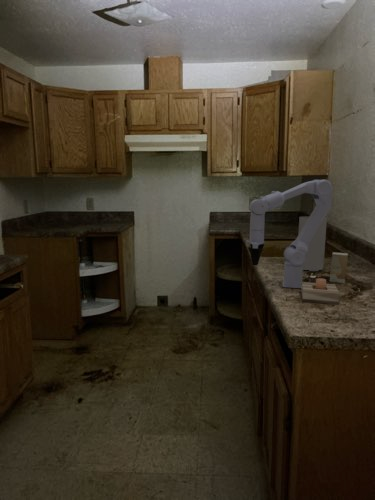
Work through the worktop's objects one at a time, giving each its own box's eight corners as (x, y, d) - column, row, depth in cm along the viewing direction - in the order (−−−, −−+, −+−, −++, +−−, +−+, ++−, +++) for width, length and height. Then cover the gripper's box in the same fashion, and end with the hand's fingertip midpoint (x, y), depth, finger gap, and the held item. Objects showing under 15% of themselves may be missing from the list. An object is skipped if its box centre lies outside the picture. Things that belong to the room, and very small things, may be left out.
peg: (319, 293, 142) (320, 277, 141) (327, 295, 139) (328, 280, 138) (312, 294, 140) (314, 279, 139) (320, 297, 137) (322, 281, 136)
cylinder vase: (328, 270, 183) (332, 218, 179) (307, 272, 179) (311, 219, 174) (311, 265, 195) (314, 216, 190) (291, 267, 190) (294, 216, 186)
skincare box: (329, 281, 163) (331, 253, 160) (329, 279, 167) (331, 252, 164) (345, 283, 160) (348, 254, 158) (345, 281, 164) (348, 253, 162)
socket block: (301, 292, 147) (301, 282, 146) (334, 294, 144) (334, 284, 144) (302, 301, 136) (303, 290, 135) (338, 304, 133) (339, 293, 132)
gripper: (248, 227, 160) (247, 259, 162) (245, 231, 146) (244, 266, 148) (265, 227, 158) (264, 259, 161) (264, 232, 144) (262, 267, 147)
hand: (255, 263), depth 154 cm, fingers open, 7 cm apart
